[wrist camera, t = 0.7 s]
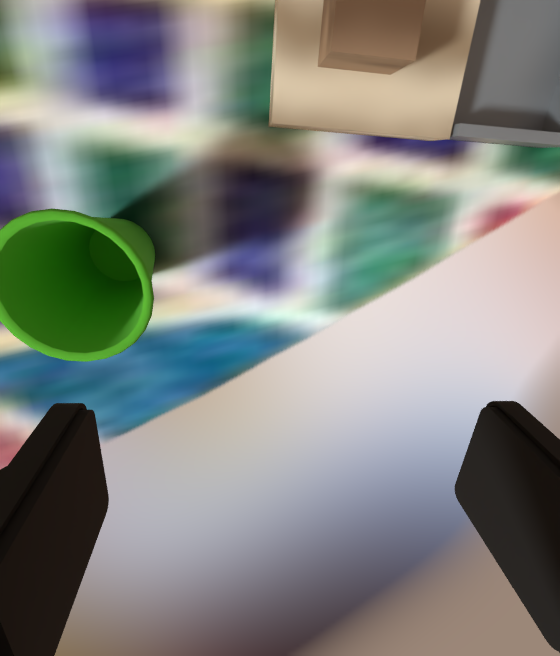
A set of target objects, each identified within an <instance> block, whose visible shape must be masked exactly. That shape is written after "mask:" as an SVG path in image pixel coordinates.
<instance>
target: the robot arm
mask: <svg viewBox="0 0 560 656" xmlns="http://www.w3.org/2000/svg"><path fill="white" fill-rule="evenodd" d="M455 494H456V497H457V499H458V501H459V503H460V505H461V506H462V508H463V509H464V511H465V512H466V514H467V515H468V517H469V519H470V520H471V522H472V523H473V525H474V527H475V528H476V530H477V531H478V533H479V535H480V536H481V538H482V539H483V541H484V542H485V544H486V546H487V547H488V549H489V550H490V552H491V553H492V555H493V556H494V558H495V560H496V562H497V563H498V565H499V566H500V568H501V569H502V571H503V573H504V574H505V576H506V577H507V579H508V580H509V582H510V584H511V585H512V587H513V588H514V590H515V592H516V593H517V595H518V596H519V598H520V599H521V601H522V603H523V604H524V606H525V607H526V609H527V611H528V612H529V614H530V615H531V617H532V618H533V620H534V622H535V623H536V625H537V626H538V628H539V630H540V631H541V633H542V634H543V636H544V637H545V639H546V640H547V642H548V643H549V645H551V647H553V648H554V649H555V650H557V651H559V652H560V439H558V438H557V437H556V436H555V435H554V434H553V433H552V432H551V431H549V430H548V429H547V428H546V427H545V426H543V424H542V423H540V422H539V421H538V420H537V419H536V418H535V417H534V416H533V415H531V414H530V413H529V412H528V411H527V410H526V409H525V408H524V407H523V406H521V405H520V404H519V403H517V402H514V401H492V402H490V403H488V404H487V406H486V407H485V408H483V409H482V410H481V412H480V415H479V418H478V420H477V423H476V426H475V429H474V432H473V435H472V438H471V440H470V443H469V446H468V449H467V452H466V455H465V458H464V461H463V464H462V466H461V469H460V472H459V475H458V478H457V481H456V484H455ZM108 501H109V498H108V490H107V484H106V478H105V473H104V467H103V460H102V455H101V448H100V442H99V436H98V430H97V424H96V418H95V414H94V411H93V410H87V409H86V406H85V405H84V404H83V403H56V404H54V405H53V406H52V407H51V408H50V409H49V411H48V412H47V413H46V415H45V416H44V417H43V419H42V420H41V421H40V423H39V424H38V425H37V427H36V428H35V430H34V431H33V432H32V434H31V435H30V436H29V438H28V439H27V440H26V442H25V443H24V444H23V446H22V447H21V449H20V450H19V451H18V453H17V454H16V455H15V457H14V458H13V459H12V461H11V462H10V463H9V465H8V466H6V467H4V468H3V469H1V470H0V656H54V655H55V652H56V649H57V647H58V644H59V641H60V638H61V636H62V633H63V630H64V628H65V625H66V622H67V619H68V617H69V614H70V611H71V608H72V605H73V603H74V600H75V598H76V595H77V592H78V589H79V586H80V584H81V581H82V578H83V576H84V573H85V570H86V568H87V565H88V562H89V559H90V557H91V554H92V551H93V548H94V545H95V543H96V540H97V538H98V535H99V532H100V529H101V527H102V524H103V521H104V518H105V516H106V512H107V509H108Z"/></svg>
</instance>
